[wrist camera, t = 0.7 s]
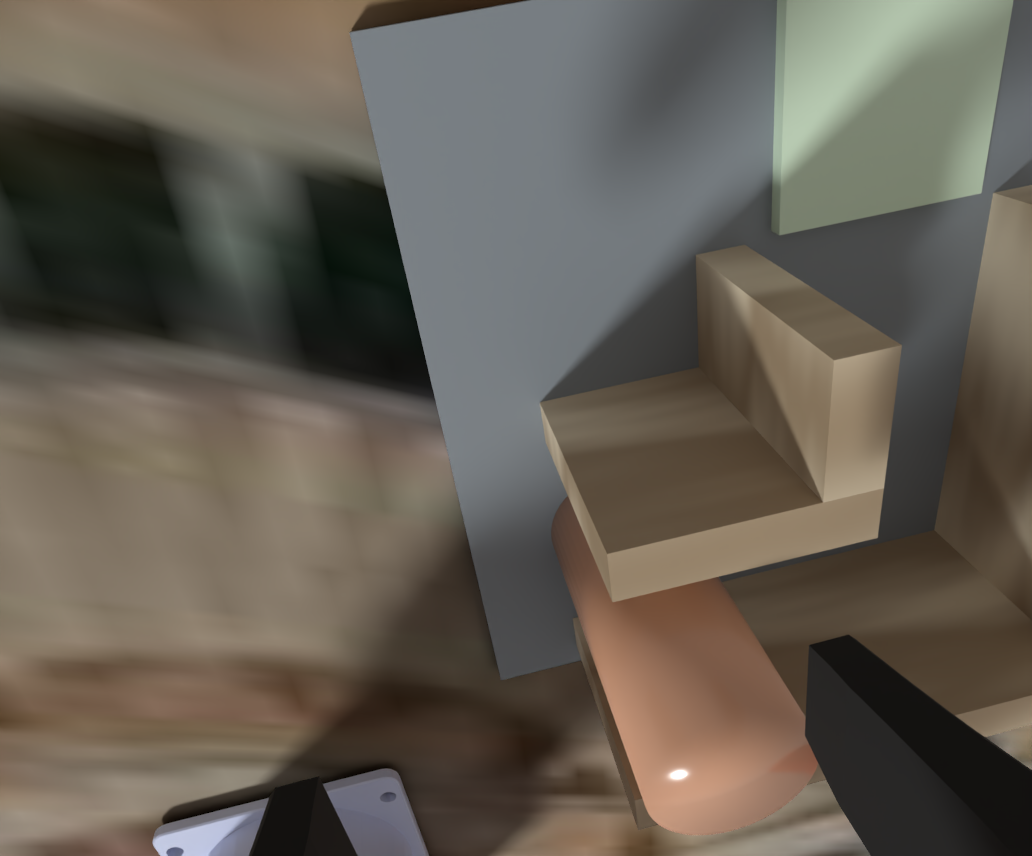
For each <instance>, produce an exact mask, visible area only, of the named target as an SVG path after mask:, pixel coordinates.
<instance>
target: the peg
mask: <svg viewBox="0 0 1032 856" xmlns="http://www.w3.org/2000/svg"><path fill="white" fill-rule="evenodd" d="M551 539H552V543H553V547H554V550H555V552H556V555H557V558H558V561H559V564H560V567H561V569H562V572H563V575H564V578H565V581H566V584H567V586H568V589H569V592H570V595H571V598H572V601H573V603H574V606H575V609H576V612H577V615H578V617H579V620H580V623H581V626H582V629H583V632H584V634H585V637H586V640H587V643H588V646H589V649H590V651H591V654H592V657H593V660H594V663H595V666H596V668H597V671H598V674H599V677H600V680H601V683H602V685H603V688H604V691H605V694H606V697H607V700H608V702H609V705H610V708H611V711H612V714H613V716H614V719H615V722H616V725H617V728H618V731H619V733H620V736H621V739H622V742H623V745H624V748H625V750H626V753H627V756H628V759H629V762H630V765H631V767H632V770H633V773H634V776H635V779H636V782H637V784H638V787H639V790H640V793H641V796H642V799H643V801H644V804H645V807H646V809H647V812H648V814H649V815H650V816H651V818H652V819H653V820H654V821H655V822H656V823H657V824H659V825H660V826H662V827H664V828H665V829H668V830H670V831H673V832H677V833H681V834H687V835H712V834H718V833H724V832H728V831H733V830H736V829H739V828H742V827H745V826H748V825H750V824H753V823H755V822H757V821H759V820H762V819H764V818H766V817H767V816H769V815H771V814H773V813H774V812H776V811H777V810H779V809H780V808H782V807H783V806H785V805H786V804H787V803H789V802H790V801H791V800H792V799H793V798H794V797H795V796H797V795H798V794H799V793H800V792H801V791H802V789H803V788H804V787H805V786H806V785H807V783H808V782H809V781H810V779H811V778H812V776H813V774H814V772H815V770H816V768H817V765H818V762H817V760H816V758H815V756H814V753H813V751H812V749H811V747H810V745H809V743H808V741H807V739H806V737H805V718H806V717H805V716H804V714H803V712H802V711H801V709H800V707H799V706H798V704H797V703H796V701H795V699H794V698H793V696H792V695H791V693H790V691H789V690H788V688H787V687H786V685H785V683H784V682H783V680H782V678H781V677H780V675H779V674H778V672H777V670H776V669H775V667H774V666H773V664H772V662H771V661H770V659H769V658H768V656H767V654H766V653H765V651H764V649H763V648H762V646H761V645H760V643H759V641H758V640H757V638H756V637H755V635H754V633H753V632H752V630H751V629H750V627H749V625H748V624H747V622H746V620H745V619H744V617H743V616H742V614H741V612H740V611H739V609H738V608H737V606H736V604H735V603H734V601H733V600H732V598H731V596H730V595H729V593H728V591H727V590H726V588H725V587H724V585H723V583H722V582H721V580H720V579H719V577H715V578H711V579H707V580H703V581H699V582H695V583H690V584H686V585H682V586H678V587H674V588H670V589H666V590H662V591H658V592H653V593H649V594H645V595H641V596H637V597H633V598H629V599H625V600H621V601H617V602H612V600H611V598H610V595H609V593H608V590H607V588H606V586H605V583H604V581H603V578H602V576H601V574H600V571H599V569H598V567H597V564H596V562H595V559H594V557H593V555H592V552H591V550H590V547H589V545H588V543H587V540H586V538H585V535H584V533H583V531H582V528H581V526H580V523H579V521H578V519H577V516H576V514H575V511H574V509H573V507H572V504H571V502H570V499H569V497H568V496H567V497H566V498H565V499H564V501H563V502H562V503H561V505H560V506H559V508H558V510H557V512H556V514H555V516H554V519H553V522H552V527H551Z"/></svg>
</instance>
